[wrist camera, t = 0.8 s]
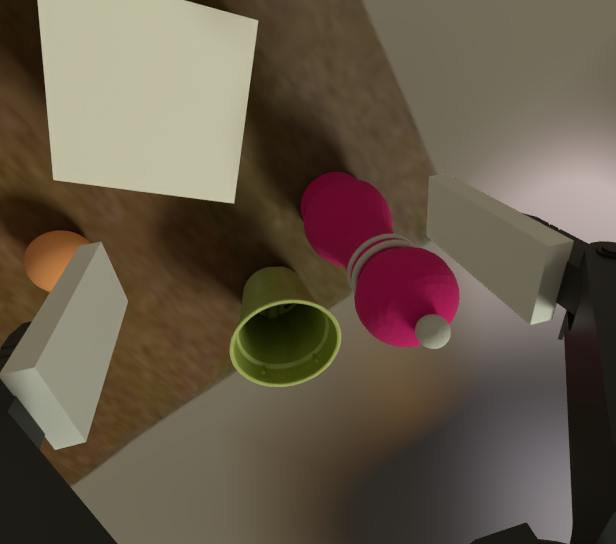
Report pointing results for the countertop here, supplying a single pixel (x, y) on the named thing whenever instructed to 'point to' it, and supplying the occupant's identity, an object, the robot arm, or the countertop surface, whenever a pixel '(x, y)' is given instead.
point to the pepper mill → (380, 263)
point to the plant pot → (282, 331)
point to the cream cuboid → (147, 94)
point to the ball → (51, 256)
